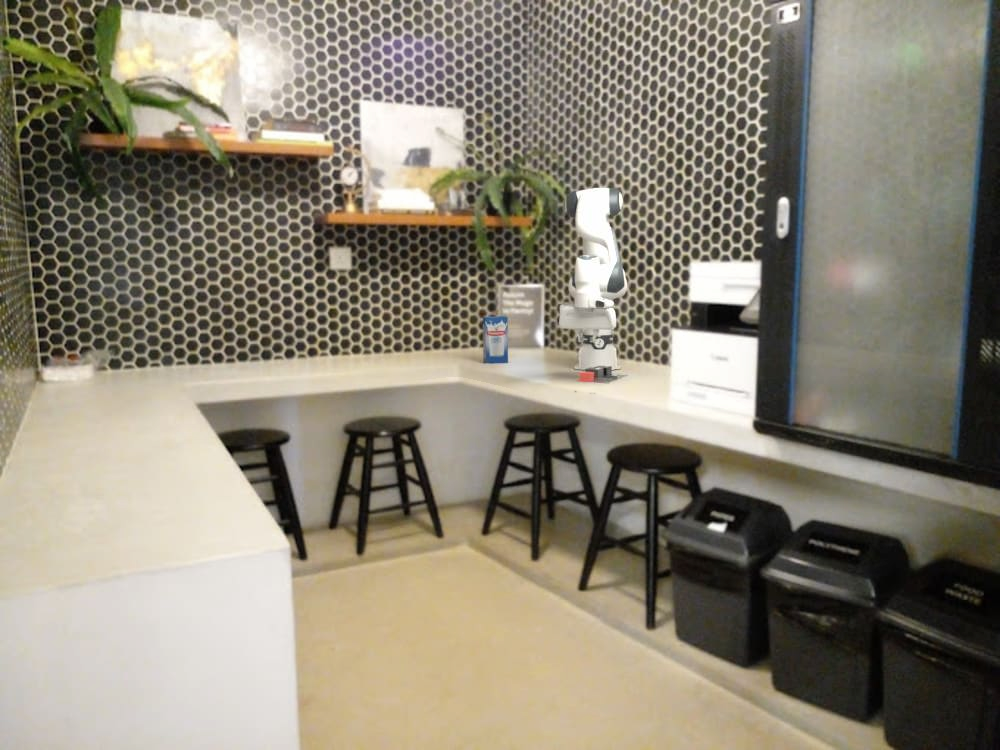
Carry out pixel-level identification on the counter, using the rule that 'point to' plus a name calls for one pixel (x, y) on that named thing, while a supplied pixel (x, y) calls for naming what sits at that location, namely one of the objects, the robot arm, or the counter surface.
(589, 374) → the red block
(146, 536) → the counter surface
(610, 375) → the panel
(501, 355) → the milk carton
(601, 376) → the breaker
